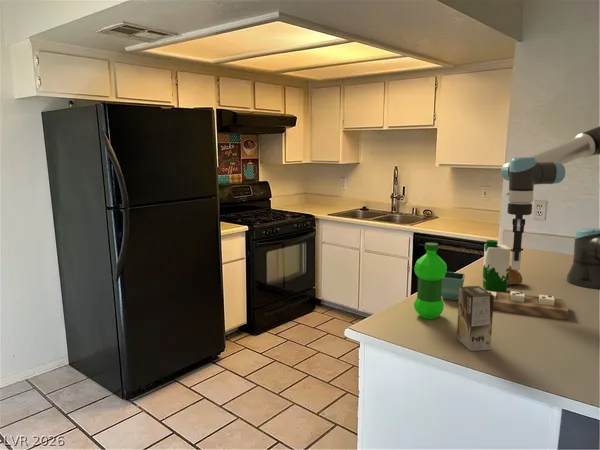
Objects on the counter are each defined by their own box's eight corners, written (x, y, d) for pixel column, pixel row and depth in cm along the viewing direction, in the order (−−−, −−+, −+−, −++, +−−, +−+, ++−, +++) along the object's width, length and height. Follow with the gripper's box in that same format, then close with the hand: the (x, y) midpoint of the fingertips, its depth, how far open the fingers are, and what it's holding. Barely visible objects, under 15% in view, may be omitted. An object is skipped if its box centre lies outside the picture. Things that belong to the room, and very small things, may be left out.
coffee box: (491, 350, 122) (495, 295, 119) (469, 351, 121) (473, 296, 119) (475, 336, 131) (479, 285, 128) (455, 337, 130) (458, 286, 128)
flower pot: (463, 295, 167) (465, 273, 166) (461, 303, 159) (463, 279, 158) (440, 293, 171) (441, 270, 169) (437, 299, 163) (438, 276, 162)
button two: (552, 305, 152) (553, 295, 151) (553, 309, 148) (554, 299, 147) (538, 303, 153) (539, 293, 153) (538, 307, 150) (539, 297, 149)
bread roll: (520, 288, 175) (522, 269, 174) (481, 283, 183) (482, 265, 181) (522, 282, 183) (524, 264, 182) (484, 277, 191) (485, 260, 190)
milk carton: (480, 286, 179) (483, 238, 175) (503, 287, 177) (507, 239, 173) (484, 293, 170) (487, 243, 167) (509, 294, 168) (513, 243, 165)
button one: (495, 301, 159) (496, 291, 159) (495, 305, 156) (496, 295, 155) (482, 299, 161) (483, 290, 161) (482, 303, 157) (482, 293, 157)
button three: (523, 302, 155) (524, 292, 155) (523, 306, 152) (524, 295, 151) (509, 300, 157) (510, 290, 157) (509, 304, 153) (510, 294, 153)
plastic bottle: (434, 309, 153) (437, 240, 149) (450, 320, 143) (454, 246, 139) (407, 311, 151) (410, 241, 147) (422, 323, 141) (425, 248, 137)
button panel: (563, 307, 154) (564, 299, 153) (567, 319, 143) (568, 311, 142) (472, 296, 166) (473, 288, 166) (469, 306, 156) (470, 298, 155)
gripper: (508, 200, 156) (504, 263, 161) (507, 204, 145) (503, 272, 149) (532, 200, 153) (527, 265, 157) (532, 205, 142) (527, 275, 146)
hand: (515, 269), depth 153 cm, fingers closed
